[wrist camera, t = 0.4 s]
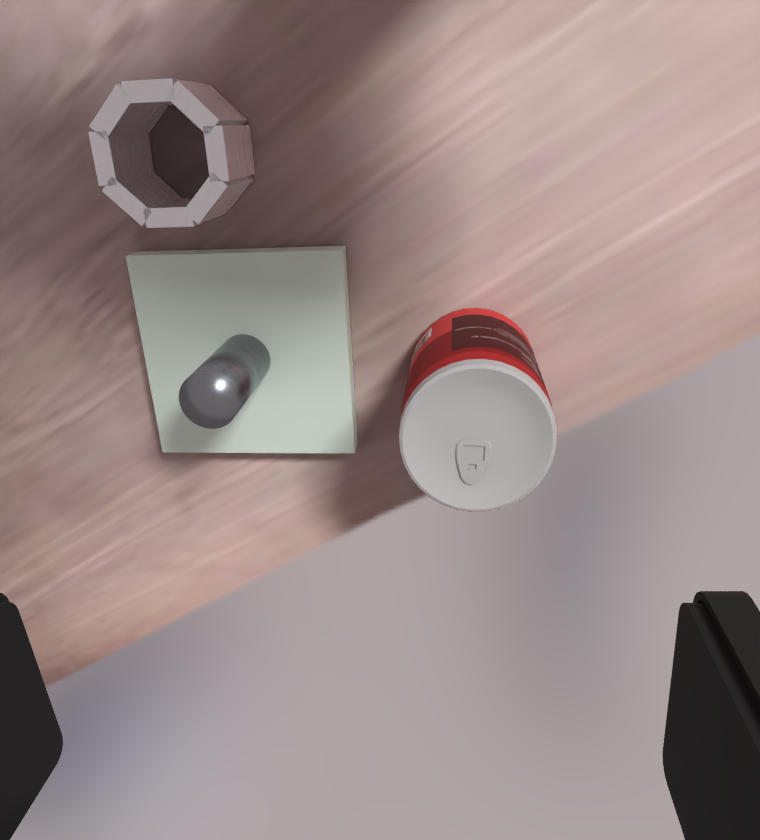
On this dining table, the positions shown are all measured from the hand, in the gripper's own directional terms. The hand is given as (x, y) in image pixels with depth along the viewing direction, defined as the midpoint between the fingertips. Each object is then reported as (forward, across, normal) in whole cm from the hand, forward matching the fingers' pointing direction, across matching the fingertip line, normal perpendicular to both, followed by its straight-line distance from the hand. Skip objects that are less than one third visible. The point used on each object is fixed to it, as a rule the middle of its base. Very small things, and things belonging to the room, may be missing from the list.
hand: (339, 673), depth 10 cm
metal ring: (+34, +13, -7) cm, 37 cm away
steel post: (+32, +12, +5) cm, 35 cm away
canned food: (+34, -2, +7) cm, 35 cm away
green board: (+34, +12, +5) cm, 36 cm away
